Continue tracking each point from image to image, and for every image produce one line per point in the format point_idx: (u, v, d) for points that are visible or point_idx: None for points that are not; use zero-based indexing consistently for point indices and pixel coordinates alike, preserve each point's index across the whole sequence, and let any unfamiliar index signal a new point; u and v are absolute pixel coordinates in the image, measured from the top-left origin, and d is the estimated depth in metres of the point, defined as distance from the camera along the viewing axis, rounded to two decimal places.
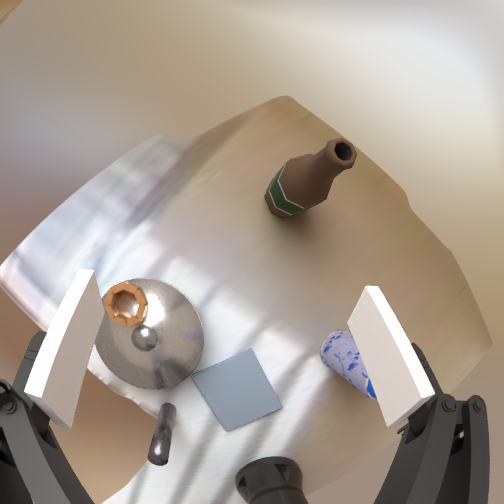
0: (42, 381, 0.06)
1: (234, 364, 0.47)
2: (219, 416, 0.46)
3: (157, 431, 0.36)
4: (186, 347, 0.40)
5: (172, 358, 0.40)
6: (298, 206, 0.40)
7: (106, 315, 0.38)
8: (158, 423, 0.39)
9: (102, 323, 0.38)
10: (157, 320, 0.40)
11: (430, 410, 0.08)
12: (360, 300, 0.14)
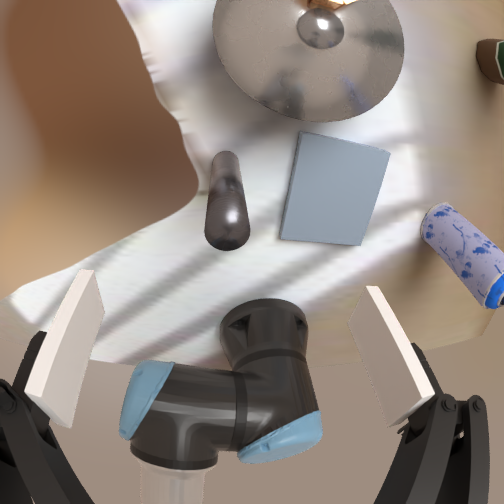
0: (42, 381, 0.06)
1: (362, 154, 0.31)
2: (291, 210, 0.34)
3: (229, 180, 0.22)
4: (364, 83, 0.21)
5: (335, 82, 0.21)
6: None
7: None
8: (225, 170, 0.25)
9: None
10: (352, 25, 0.17)
11: (430, 410, 0.08)
12: (360, 299, 0.14)
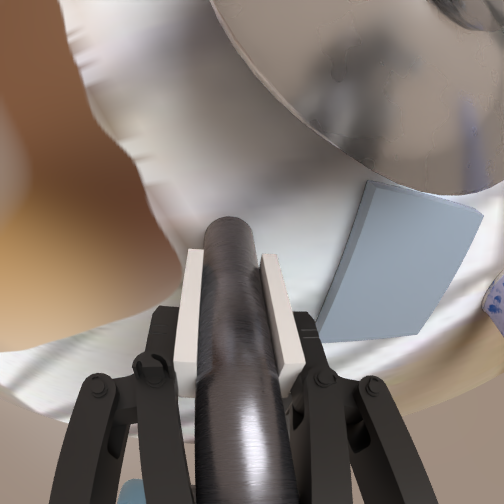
0: (191, 348, 0.09)
1: (452, 220, 0.17)
2: (336, 309, 0.21)
3: (245, 370, 0.08)
4: None
5: (483, 108, 0.07)
6: None
7: None
8: (232, 306, 0.11)
9: None
10: None
11: (304, 390, 0.09)
12: (261, 268, 0.15)
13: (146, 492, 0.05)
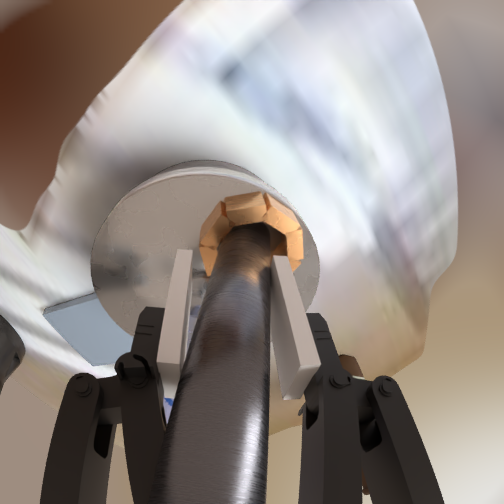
0: (175, 349, 0.09)
1: None
2: (63, 312, 0.29)
3: (245, 343, 0.09)
4: None
5: None
6: None
7: (191, 207, 0.17)
8: (243, 287, 0.11)
9: (166, 208, 0.17)
10: None
11: (319, 390, 0.09)
12: (271, 270, 0.15)
13: (133, 493, 0.04)
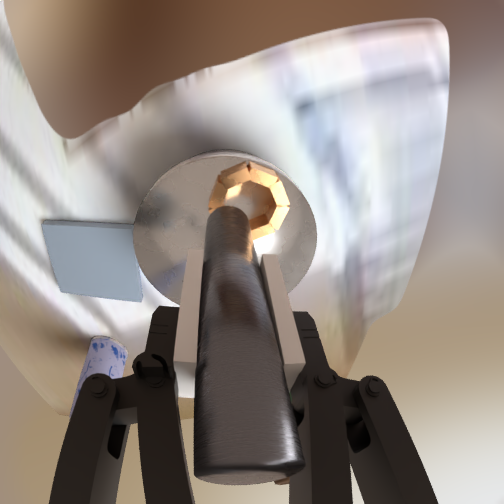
0: (191, 348, 0.09)
1: (130, 280, 0.36)
2: (65, 229, 0.30)
3: (255, 308, 0.10)
4: None
5: None
6: None
7: (198, 184, 0.23)
8: (242, 263, 0.13)
9: (181, 188, 0.23)
10: (260, 246, 0.27)
11: (303, 390, 0.09)
12: (261, 268, 0.15)
13: (146, 492, 0.05)
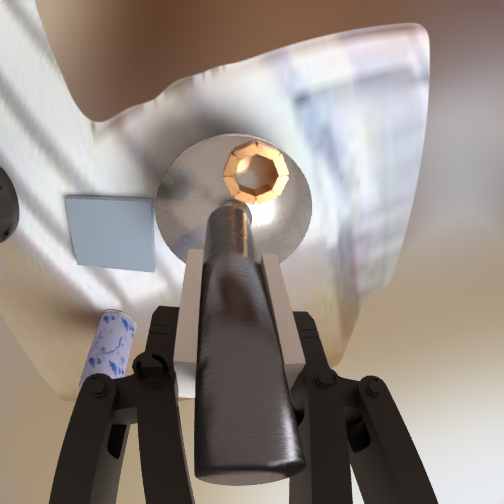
0: (191, 348, 0.09)
1: (145, 250, 0.40)
2: (88, 202, 0.35)
3: (256, 308, 0.10)
4: (261, 255, 0.35)
5: None
6: None
7: (214, 158, 0.28)
8: (242, 264, 0.13)
9: (200, 161, 0.28)
10: (264, 212, 0.32)
11: (304, 390, 0.09)
12: (261, 268, 0.15)
13: (146, 492, 0.05)
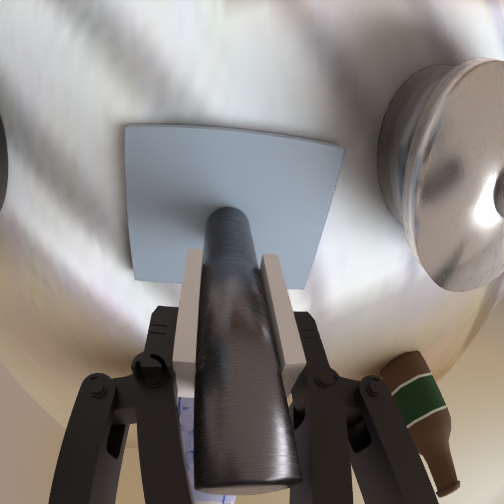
0: (190, 348, 0.09)
1: (303, 249, 0.21)
2: (189, 136, 0.16)
3: (255, 320, 0.10)
4: None
5: (488, 253, 0.15)
6: (418, 416, 0.27)
7: None
8: (242, 271, 0.12)
9: (502, 89, 0.09)
10: None
11: (304, 390, 0.09)
12: (261, 268, 0.15)
13: (145, 492, 0.05)
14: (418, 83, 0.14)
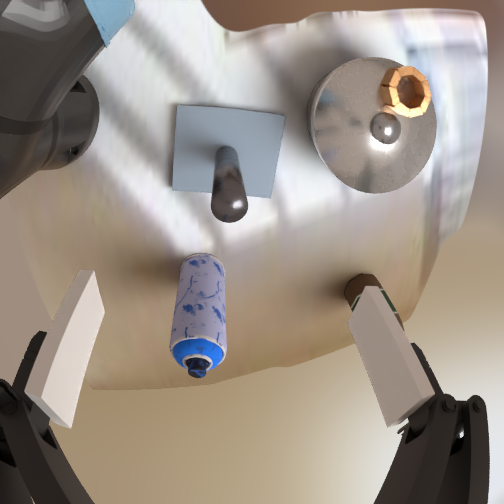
0: (42, 381, 0.06)
1: (267, 171, 0.38)
2: (209, 111, 0.32)
3: (235, 170, 0.27)
4: (398, 171, 0.32)
5: (380, 167, 0.32)
6: None
7: (374, 73, 0.25)
8: (231, 161, 0.29)
9: (363, 72, 0.25)
10: (405, 129, 0.29)
11: (430, 410, 0.08)
12: (360, 299, 0.14)
13: None
14: None
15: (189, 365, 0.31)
